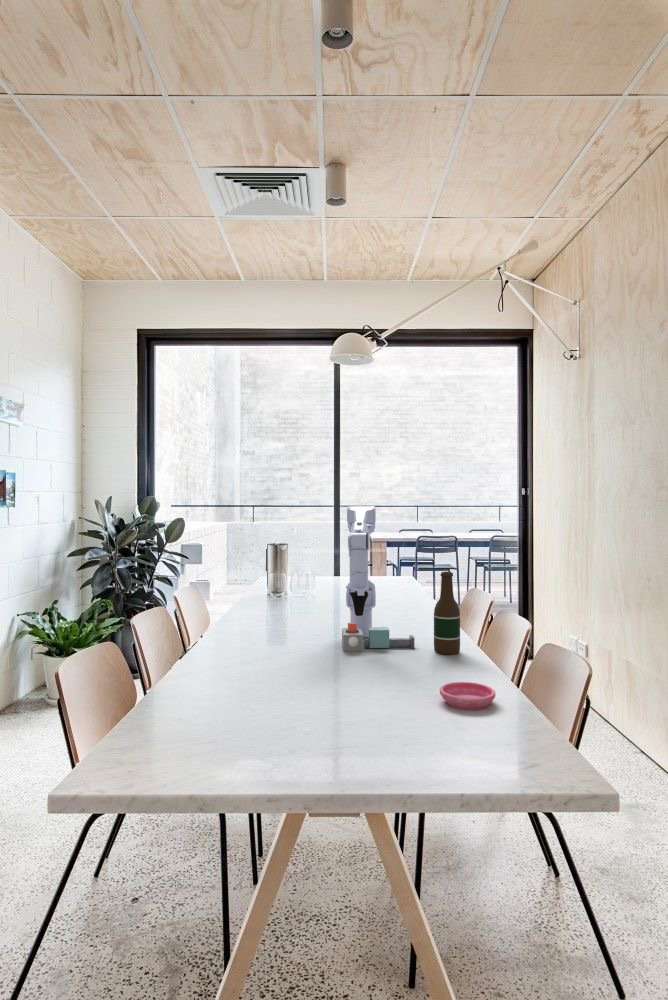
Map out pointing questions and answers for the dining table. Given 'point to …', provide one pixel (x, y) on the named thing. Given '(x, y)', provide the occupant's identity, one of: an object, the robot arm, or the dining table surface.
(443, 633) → the beer bottle
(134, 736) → the dining table surface
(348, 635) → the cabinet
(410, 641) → the rail
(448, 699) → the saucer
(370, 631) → the block
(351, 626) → the plunger
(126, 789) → the dining table surface
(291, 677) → the dining table surface
